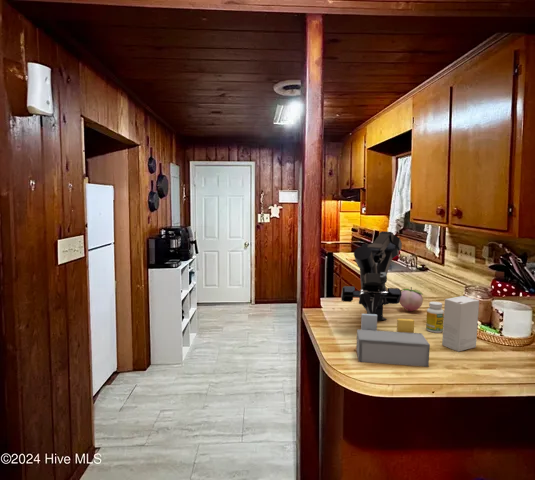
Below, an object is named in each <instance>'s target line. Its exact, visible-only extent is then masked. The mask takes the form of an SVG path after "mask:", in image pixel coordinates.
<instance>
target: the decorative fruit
mask: <svg viewBox="0 0 535 480" xmlns="http://www.w3.org/2000/svg"><path fill="white" fill-rule="evenodd" d="M400 290H401V294H402V296H401V298H400V301H399V303H398V304H399V305H400V306H401V307H402V308H404V310H407V311H408V312H414V311H416V310H418V309H419V308H421V307H422V305H423V301H424V300H423V299H424V298H423V295H424V294H423V293H422V291H420V290H418V289H412V286H411V287H410V289H409V288H401V289H400Z"/></svg>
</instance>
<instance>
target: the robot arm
mask: <svg viewBox="0 0 535 480" xmlns="http://www.w3.org/2000/svg"><path fill="white" fill-rule="evenodd" d="M402 243H403V242H402V241H401V238H400V237H399V236H397V235H395V234H394V232H392V231H379V233H378V236H377V237H376V239H375V240H374V241H373V242H372V243H369V244H367V243H362V245H361V246H359V247H357V248H355V250H354V251H353V256H354V260H355V262H356V265H357V267H358V268H359V275H360V288H361V289H360V290H356V289H355V286H354V285H353V286H350V285H349V286H348V285H344V286H342V288H341V294H340V298H341V302H348V303H351V302H352V301H353V300H354V298H358V299H359V300H358V304H359V305H362V306H363V308H364V309H365V310H366V314H377V322H378V321H387V318H386V317H384V315H383V314H384V306H386V305H389V304H390V305H398V304H400V303H399V301H400V298H401V296H402V294H401V292H402V291H401V290H402V289H400V288H399V287H397V288H396V287H388V288H387V287H386V283H387V281H388V272H389V270H390V267H391V264H392V261H393V259H394V258H395V257H397V256H398V255H399V253H400V251H402V246H403V245H402Z"/></svg>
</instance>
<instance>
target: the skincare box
mask: <svg viewBox="0 0 535 480" xmlns="http://www.w3.org/2000/svg"><path fill="white" fill-rule="evenodd" d="M479 307H480V300H479V299H475V298H471V297H468V296H465V295H461V296H456V297H450V298H445V299H444V309H443V311H444V321H443V331H442V342H441V345H442V346H444V347H446V348H449V350H453V351H454V352H455V351H456V352H461V351H465V350H469V349H470V350H471V349H475V348H476V347H477V340H478V339H477V337H478V334H477V333H478V325H479V324H478V322H479V321H478V320H479V309H480V308H479Z"/></svg>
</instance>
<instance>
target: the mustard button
mask: <svg viewBox="0 0 535 480" xmlns="http://www.w3.org/2000/svg"><path fill="white" fill-rule="evenodd" d="M396 332H407V333H415V320H414V318H413V319H412V318H409V319H408V318H396Z"/></svg>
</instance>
